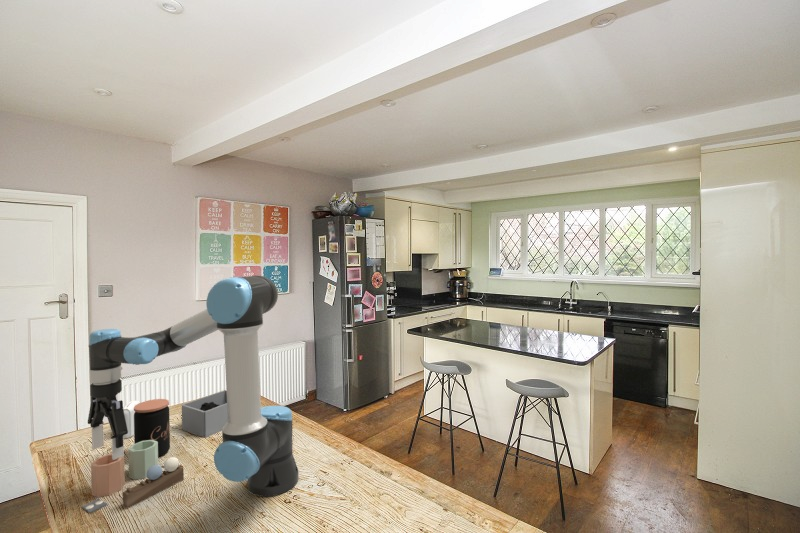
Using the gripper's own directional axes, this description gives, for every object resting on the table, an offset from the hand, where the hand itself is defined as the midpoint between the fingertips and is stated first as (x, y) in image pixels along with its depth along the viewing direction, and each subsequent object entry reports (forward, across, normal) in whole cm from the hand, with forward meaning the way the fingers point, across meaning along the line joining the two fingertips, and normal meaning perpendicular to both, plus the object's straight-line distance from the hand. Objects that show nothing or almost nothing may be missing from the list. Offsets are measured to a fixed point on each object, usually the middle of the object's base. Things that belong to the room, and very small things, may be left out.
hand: (107, 452), depth 116 cm
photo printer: (+11, +35, -23) cm, 43 cm away
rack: (+11, -14, -6) cm, 19 cm away
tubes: (+11, -2, -3) cm, 12 cm away
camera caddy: (+11, +13, -45) cm, 48 cm away
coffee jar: (+11, +10, -18) cm, 24 cm away
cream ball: (+7, -14, -11) cm, 19 cm away
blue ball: (+7, -14, -6) cm, 17 cm away
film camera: (+12, +13, -43) cm, 47 cm away
